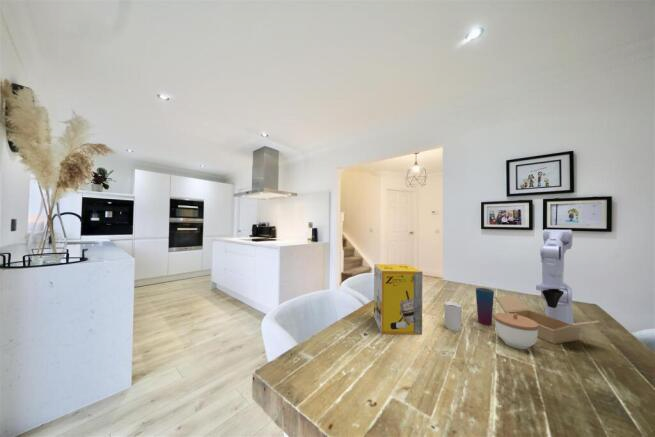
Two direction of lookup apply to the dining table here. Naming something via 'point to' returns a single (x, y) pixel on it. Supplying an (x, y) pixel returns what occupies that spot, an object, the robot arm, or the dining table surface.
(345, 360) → the dining table surface
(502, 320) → the lidded bowl
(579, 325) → the flap
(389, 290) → the packaging box
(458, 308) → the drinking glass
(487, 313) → the cup
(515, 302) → the flap
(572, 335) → the carton
